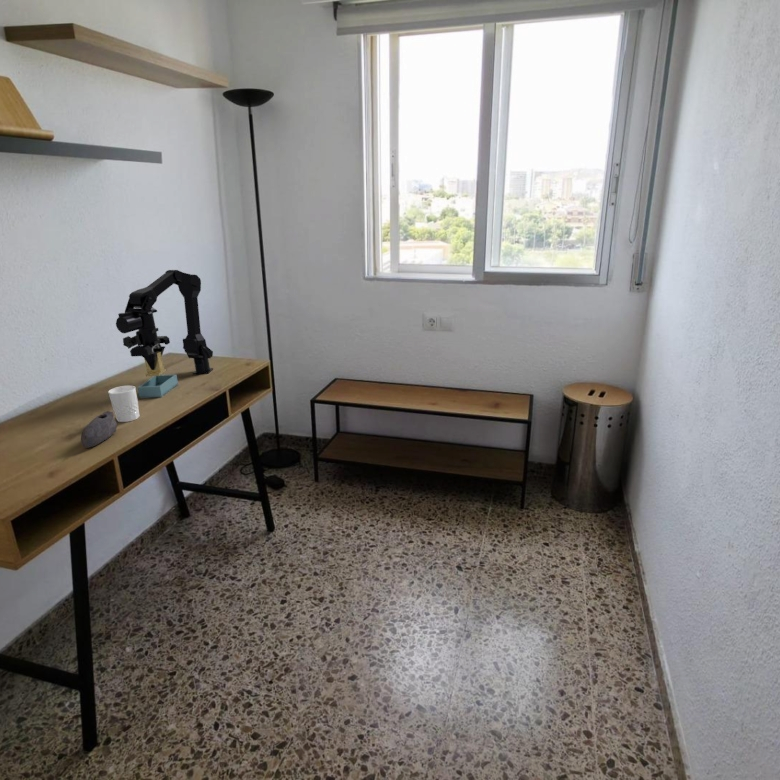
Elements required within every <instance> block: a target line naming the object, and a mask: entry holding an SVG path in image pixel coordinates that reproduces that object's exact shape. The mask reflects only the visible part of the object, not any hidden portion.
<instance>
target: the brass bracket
mask: <svg viewBox="0 0 780 780" xmlns="http://www.w3.org/2000/svg"><path fill="white" fill-rule="evenodd" d="M144 364H145V368H146V373H145V377H154V376H160V375H164V374H165V373H166V372H167V368H165V367H164V361H163V355H162V356H161V351H160V352H157V355H156V365H155V370H151V368H150V366H149V365H148V363H147V361H146V360H145V359H144Z"/></svg>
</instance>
